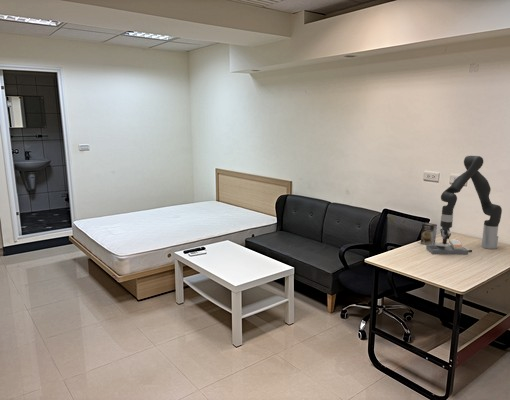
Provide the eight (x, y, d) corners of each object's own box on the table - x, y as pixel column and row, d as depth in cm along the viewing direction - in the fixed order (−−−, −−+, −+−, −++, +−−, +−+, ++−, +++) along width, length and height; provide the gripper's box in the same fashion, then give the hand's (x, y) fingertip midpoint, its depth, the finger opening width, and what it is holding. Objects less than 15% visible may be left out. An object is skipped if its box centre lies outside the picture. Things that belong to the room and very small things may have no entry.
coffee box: (420, 243, 302) (421, 223, 299) (423, 241, 306) (425, 222, 303) (432, 246, 295) (433, 225, 292) (435, 244, 300) (437, 224, 296)
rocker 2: (457, 241, 286) (457, 239, 285) (462, 249, 277) (463, 246, 276) (448, 241, 286) (449, 239, 285) (454, 249, 277) (454, 246, 276)
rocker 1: (443, 245, 287) (443, 242, 287) (449, 246, 277) (448, 243, 277) (434, 245, 287) (434, 242, 287) (440, 246, 277) (440, 243, 277)
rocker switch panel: (467, 249, 287) (468, 244, 287) (475, 254, 276) (476, 249, 275) (426, 248, 289) (426, 243, 289) (432, 254, 278) (432, 248, 277)
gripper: (456, 222, 267) (453, 246, 270) (448, 218, 280) (445, 241, 283) (445, 222, 267) (442, 246, 271) (437, 218, 280) (435, 240, 284)
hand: (444, 243), depth 277 cm, fingers closed
